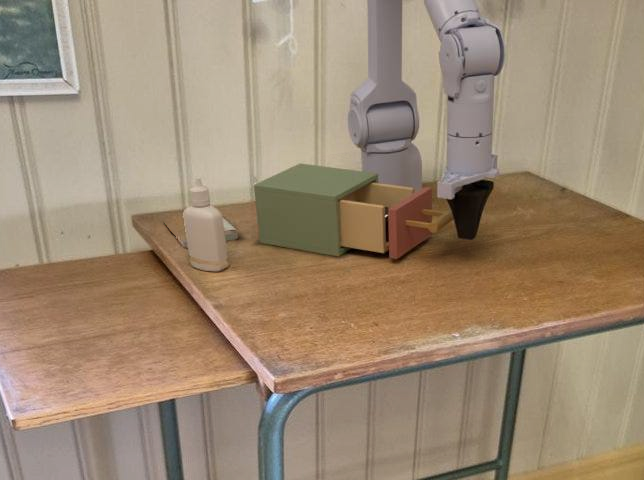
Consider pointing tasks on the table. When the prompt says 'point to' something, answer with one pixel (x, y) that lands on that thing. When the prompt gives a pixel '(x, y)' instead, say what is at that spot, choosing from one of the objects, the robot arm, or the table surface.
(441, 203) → the table surface
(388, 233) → the clip
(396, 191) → the drawer
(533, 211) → the table surface
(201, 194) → the eye dropper bottle
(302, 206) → the cabinet
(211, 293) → the table surface
